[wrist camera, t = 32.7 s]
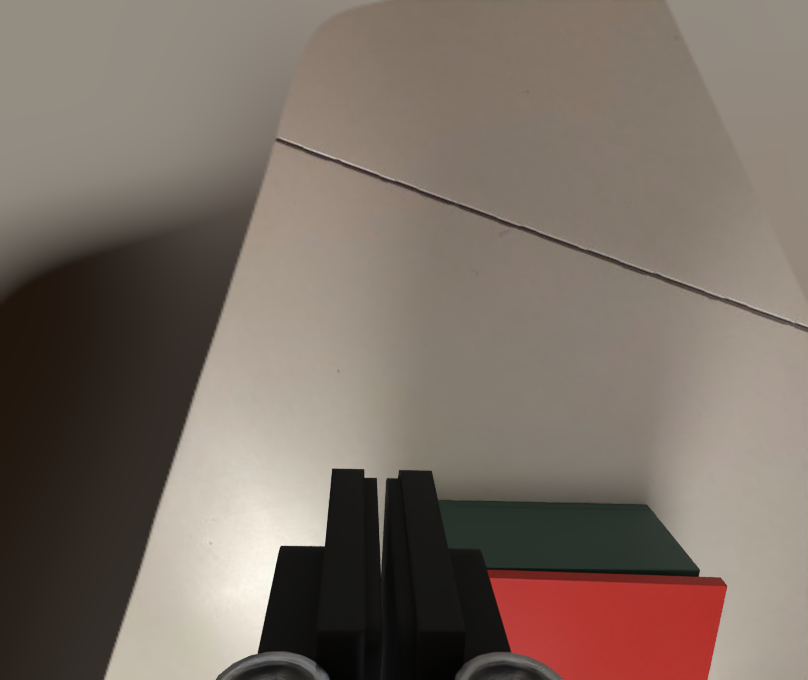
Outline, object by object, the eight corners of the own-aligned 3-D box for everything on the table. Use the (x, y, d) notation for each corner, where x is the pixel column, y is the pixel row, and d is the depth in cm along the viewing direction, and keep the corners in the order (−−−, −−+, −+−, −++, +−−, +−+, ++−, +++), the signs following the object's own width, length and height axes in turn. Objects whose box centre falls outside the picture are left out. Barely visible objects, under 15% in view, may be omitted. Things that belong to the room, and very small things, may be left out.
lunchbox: (647, 504, 48) (700, 569, 40) (622, 652, 51) (666, 738, 44) (401, 499, 47) (409, 565, 39) (392, 651, 50) (397, 739, 42)
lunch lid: (720, 577, 40) (727, 585, 39) (685, 747, 43) (691, 758, 42) (409, 566, 39) (409, 575, 38) (397, 740, 42) (398, 752, 42)
